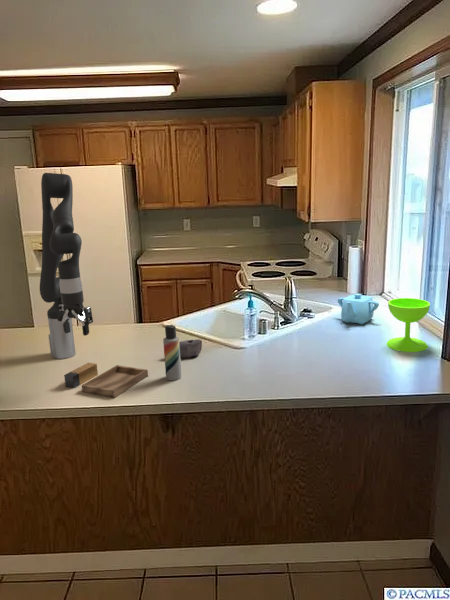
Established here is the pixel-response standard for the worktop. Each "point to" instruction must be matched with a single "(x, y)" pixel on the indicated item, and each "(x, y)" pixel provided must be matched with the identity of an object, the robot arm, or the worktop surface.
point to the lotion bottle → (172, 353)
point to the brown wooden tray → (115, 381)
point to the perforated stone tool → (190, 348)
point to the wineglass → (408, 322)
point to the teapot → (357, 308)
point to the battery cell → (80, 375)
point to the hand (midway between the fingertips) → (76, 333)
